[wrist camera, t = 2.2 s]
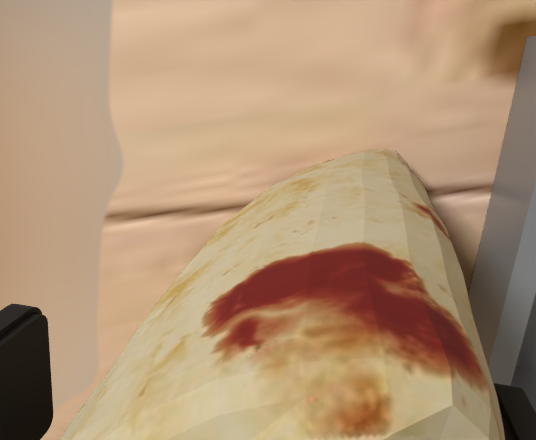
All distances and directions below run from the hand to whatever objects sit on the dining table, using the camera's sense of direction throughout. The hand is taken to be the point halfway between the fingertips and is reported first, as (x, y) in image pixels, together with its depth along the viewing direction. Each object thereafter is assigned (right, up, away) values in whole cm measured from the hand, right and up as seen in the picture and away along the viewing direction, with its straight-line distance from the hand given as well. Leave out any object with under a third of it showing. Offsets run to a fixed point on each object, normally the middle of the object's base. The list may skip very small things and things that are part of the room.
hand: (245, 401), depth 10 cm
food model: (+3, +4, +14) cm, 15 cm away
